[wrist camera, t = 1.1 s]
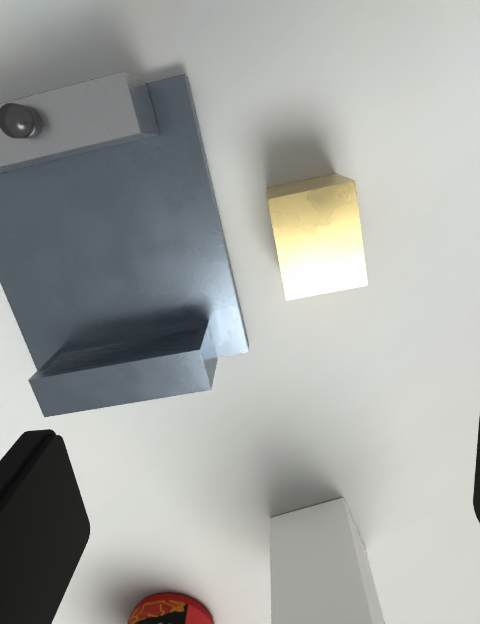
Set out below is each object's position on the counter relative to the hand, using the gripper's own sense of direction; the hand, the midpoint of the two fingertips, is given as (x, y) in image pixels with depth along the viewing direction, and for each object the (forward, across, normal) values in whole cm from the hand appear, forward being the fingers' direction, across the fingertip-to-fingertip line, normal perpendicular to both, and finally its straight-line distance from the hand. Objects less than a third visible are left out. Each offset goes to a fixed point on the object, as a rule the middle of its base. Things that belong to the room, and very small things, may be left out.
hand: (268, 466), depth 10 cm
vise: (+18, +9, -2) cm, 20 cm away
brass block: (+18, -3, -2) cm, 19 cm away
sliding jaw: (+17, +10, -9) cm, 22 cm away
